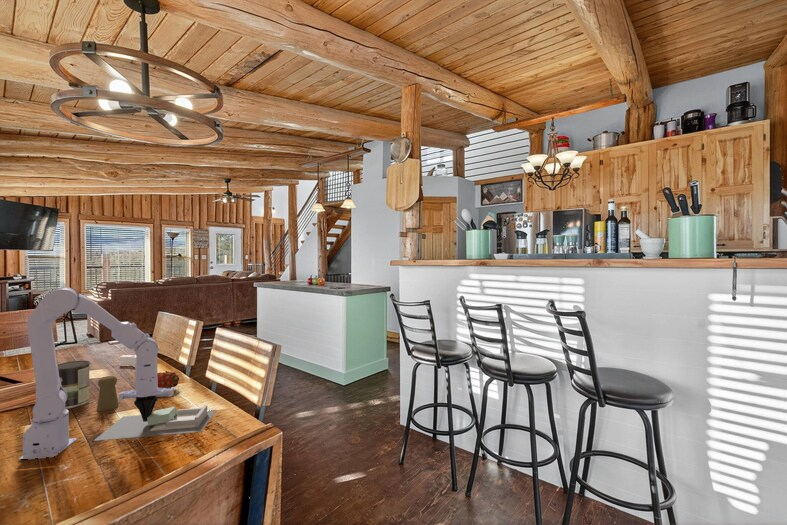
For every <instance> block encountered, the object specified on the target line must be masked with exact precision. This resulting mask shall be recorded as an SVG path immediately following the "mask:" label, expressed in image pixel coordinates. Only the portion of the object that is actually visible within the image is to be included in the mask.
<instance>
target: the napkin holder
mask: <svg viewBox="0 0 787 525" xmlns="http://www.w3.org/2000/svg"><path fill="white" fill-rule="evenodd" d="M135 364H136V354H134V355H133V354H131V355H130V354H128V355H127V354H123V355H119V366H120V365H132V366H135Z"/></svg>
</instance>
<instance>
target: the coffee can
mask: <svg viewBox="0 0 787 525" xmlns="http://www.w3.org/2000/svg"><path fill="white" fill-rule="evenodd" d="M90 362H91V361H89V360H74V361H67V362H62V363H61V362H60V363H57V365H58V372H59V378H60V381H61V385H62V388H63V389H64V390H65V391H66V392H67V395H68V397H67V401H66V403H65V408H66V409H67V410H68V409H72V408H77V407H80V406H83V405H85V404H87V403H89V402H90V400H91V399H90V397H91V396H90V364H91V363H90Z"/></svg>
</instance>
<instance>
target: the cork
mask: <svg viewBox="0 0 787 525" xmlns="http://www.w3.org/2000/svg"><path fill="white" fill-rule="evenodd" d="M117 382H118V379H117V377H116V376H115V375H107V376H103V377H101V378H99V380H98V382H97V385H98V387H99V392H98V400H97V407H96V412H107V411H111V410H112V411H113V410H114V409H117V408H118V407H119V401H118V400H119V398H118V394H117V388H116V385H117Z"/></svg>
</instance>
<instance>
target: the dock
mask: <svg viewBox="0 0 787 525" xmlns="http://www.w3.org/2000/svg"><path fill="white" fill-rule="evenodd" d="M207 410H209V411H208V412H207ZM210 410H211V411H210ZM216 411H217V409H208V405H203V406H202V407H193V408H181V409H180V408H178V409H176V413H177V417H176V418H172V419H171V420H172V421H167V422H164V423H159V424H154V425H153V426H152V427H151V428H150V427H149V426H148V421H147V422H143V419H142V416H141V414H137V415H127V416H126V415H124V416H122V417H121V418H119V419H118V420H117V421H116V422H115V423H113V424H112V425H111V426H109V427H108V428H107V429H106V430H105V431H104V432H102V433H101V434H100V435H99V436H97V437H96V438H95V439H94V440H93V441H94V442H96V441H97V442H98V441H107V440H109V441H110V440H121V439H133V438H143V437H146V438H147V437H156V436H157V437H158V436H167V435H168V436H169V435H178V434H179V435H180V434H181V435H182V434H191V433H202V432H203V431H204V429H205V428H206V426H207V424H208V423H210V420H211V419H212V417H213V416H214V415H215V413H216Z"/></svg>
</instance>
